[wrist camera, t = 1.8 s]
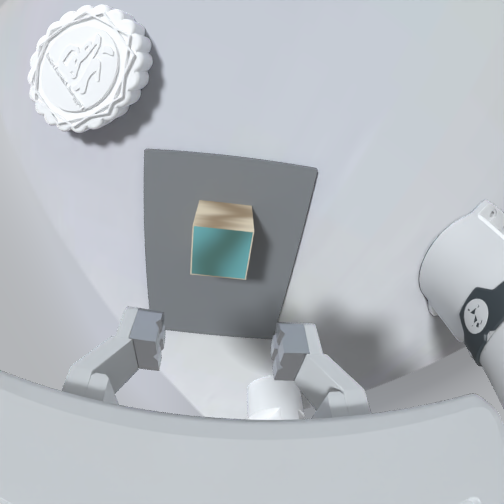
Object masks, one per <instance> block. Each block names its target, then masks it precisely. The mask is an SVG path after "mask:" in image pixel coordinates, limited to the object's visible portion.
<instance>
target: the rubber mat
mask: <svg viewBox="0 0 504 504" xmlns="http://www.w3.org/2000/svg"><path fill="white" fill-rule="evenodd" d="M317 171H318V170H317V169H316V168H313V167H307V166H301V165H295V164H289V163H282V162H276V161H269V160H261V159H254V158H246V157H238V156H229V155H220V154H210V153H200V152H188V151H175V150H160V149H145V150H144V234H145V256H146V273H147V286H148V298H149V309H150V310H155V311H162V312H164V316H165V320H164V324H163V325H164V326H165V330H171V331H180V332H189V333H199V334H209V335H220V336H232V337H246V338H261V339H272V338H273V335H274V332H275V328H276V325H277V322H278V318H279V315H280V311H281V308H282V304H283V301H284V297H285V294H286V290H287V287H288V283H289V280H290V276H291V272H292V269H293V265H294V261H295V258H296V254H297V250H298V246H299V243H300V239H301V235H302V231H303V227H304V223H305V219H306V216H307V212H308V208H309V204H310V200H311V196H312V191H313V187H314V183H315V179H316V175H317ZM199 200H204V201H214V202H223V203H232V204H241V205H250V206H252V213H253V223H254V236H253V242H252V247H251V253H250V259H249V265H248V270H247V276H246V280H243V279H233V278H222V277H212V276H202V275H192V274H190V270H191V247H192V229H193V222H194V218H195V214H196V211H197V207H198V203H199Z"/></svg>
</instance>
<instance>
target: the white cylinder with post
mask: <svg viewBox="0 0 504 504" xmlns="http://www.w3.org/2000/svg"><path fill="white" fill-rule="evenodd" d="M247 414H248V419H251V420H293V419H303V418H304V410H303V404H302V398H301V391H300V389H299V388H298V386H297V385H296V384H295V383H294V381H283V380H274V378H273V375H271V376H265V377H262V378H259V379H256V380H255V381H253V382H251V383H250V384H249V385H248V387H247Z"/></svg>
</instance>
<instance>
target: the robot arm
mask: <svg viewBox="0 0 504 504" xmlns="http://www.w3.org/2000/svg"><path fill="white" fill-rule="evenodd" d="M419 283H420V288H421V291H422V293H423V294H424V295H425V297H426V298H427V299H428V309H429V311H430V313H431V314H432V315H433V316H438V315H439V316H440V318H441V319H442V320H443V322H444V323H445V324H446V326H447V327H448V328H449V330H450V331H451V332H452V334H453V335H454V336H455V338H456V339H457V340H458V341H459V342H464V343H465V345H466V347H467V349H468V350H469V353H470V355H471V357H472V358H473V359H474V360H475V362H476V363H477V365H478V366H482V367H483V369H484V371H485V373H486V375H487V376H488V378H489V380H490V382H491V384H492V386H493V388H494V390H495V392H496V394H497V396H498V398H499V400H500V402H501V404H502V407H503V409H504V212H503V211H501V210H500V209H499V208H498V207H496V206H495V205H494V204H493V203H491V202H490V201H489V200H484V201H483V202H481V203H480V204H479V205H478V206H477V207H476V208H475V209H474V210H473V211H472V213H470V214H469V215H467V216H465V217H463V218H461V219H459V220H457V221H456V222H454V223H453V224H451V225H450V226H449V227H447V228H446V229H445V230H444V231H443V232H442V233H441V234H440V235H439V236H438V238H437V239H436V240H435V241H434V243H433V244H432V246H431V247H430V249H429V250H428V252H427V254H426V256H425V258H424V260H423V263H422V266H421V270H420V276H419ZM164 320H165V316H164V312H162V311H155V310H149V309H142V308H135V307H129V306H127V307H126V309H125V311H124V313H123V316H122V319H121V322H120V324H119V327H118V330H117V333H116V336H111V337H110V338H108V339H107V340H106V341H104V342H103V343H101V344H100V345H99V346H97V347H96V348H95V349H93V350H92V351H90V352H89V353H88V354H86V355H85V356H84V357H82V358H81V359H80V360H78V361H77V362H75V363H74V364H73V365H71V367H70V370H69V372H68V375H67V378H66V380H65V383H64V386H63V389H62V391H60V390H57V389H53V388H50V387H47V386H44V385H40V384H37V383H34V382H31V381H28V380H26V379H23V378H20V377H17V376H15V375H12V374H9V373H7V372H4V371H1V370H0V504H504V424H503V422H502V419H501V417H500V415H499V413H498V411H497V410H496V409H495V408H494V407H493V406H492V405H491V404H490V403H488V402H487V401H486V400H485V399H483V398H482V397H481V396H479V395H478V394H468V395H464V396H460V397H457V398H452V399H448V400H444V401H440V402H435V403H431V404H426V405H421V406H416V407H411V408H405V409H399V410H393V411H387V412H379V413H371V410H370V407H369V403H368V400H367V397H366V393H365V390H364V388H362V387H361V386H360V385H359V384H358V383H357V382H356V381H355V380H354V379H353V378H352V377H351V376H350V375H348V374H347V373H346V372H345V371H344V370H343V369H342V368H341V367H340V366H339V365H338V364H337V363H336V362H335V361H333V360H332V359H331V358H330V357H329V356H328V355H327V354H323V351H322V347H321V343H320V339H319V336H318V332H317V328H316V325H315V324H313V323H287V322H278V323H277V325H276V328H275V330H276V334H275V335H274V336H273V338H272V342H271V358H272V359H273V360H274V363H273V366H272V369H273V378H274V380H283V381H294V383H295V384H296V385H297V386H298V388H299V389H300V390H301V392H302V393H303V394H304V395H305V397H306V398H307V399H308V401H309V402H310V403H311V404H312V406H313V407H314V408H315V409H316V412H315V414H314V415H313V417H312V418H311V419H293V420H251V419H227V418H212V417H200V416H189V415H180V414H172V413H164V412H157V411H151V410H145V409H138V408H133V407H127V406H122V405H119V404H118V401H117V398H116V396H115V393H116V392H117V391H118V390H119V389H120V388H121V387H122V386H123V385H124V384H125V383H126V382H127V381H128V380H129V379H130V378H131V377H132V376H133V375H134V374H135V373H136V372H137V370H138V368H140V369H148V370H156V371H159V369H160V364H161V359H162V355H161V350H163V349H164V343H165V326H164V325H163V324H164Z"/></svg>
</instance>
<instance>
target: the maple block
mask: <svg viewBox="0 0 504 504" xmlns="http://www.w3.org/2000/svg"><path fill="white" fill-rule="evenodd" d="M253 236H254V223H253V213H252V206H250V205H241V204H232V203H223V202H214V201H204V200H199V203H198V207H197V211H196V214H195V218H194V222H193V229H192V247H191V270H190V274H192V275H202V276H212V277H222V278H233V279H243V280H246V276H247V270H248V265H249V259H250V253H251V247H252V242H253Z"/></svg>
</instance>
